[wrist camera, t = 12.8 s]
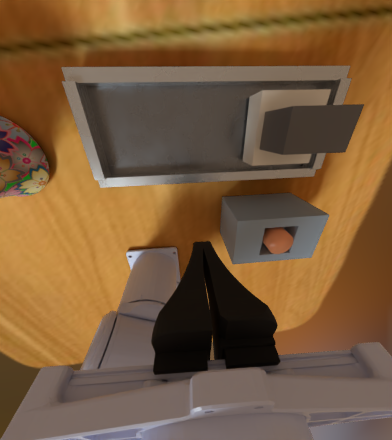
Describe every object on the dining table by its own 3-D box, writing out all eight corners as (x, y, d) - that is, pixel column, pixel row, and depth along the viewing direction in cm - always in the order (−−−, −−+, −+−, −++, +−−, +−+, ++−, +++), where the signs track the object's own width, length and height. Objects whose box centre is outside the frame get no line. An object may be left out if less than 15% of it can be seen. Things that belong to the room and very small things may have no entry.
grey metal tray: (299, 171, 22) (317, 177, 19) (109, 180, 20) (98, 189, 17) (326, 74, 17) (356, 63, 14) (79, 76, 15) (56, 64, 12)
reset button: (278, 240, 21) (289, 253, 19) (257, 242, 20) (266, 255, 18) (283, 221, 19) (296, 232, 17) (261, 223, 19) (271, 234, 17)
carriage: (292, 159, 19) (343, 171, 13) (242, 161, 19) (271, 175, 13) (308, 95, 16) (383, 75, 10) (249, 96, 16) (292, 75, 10)
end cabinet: (280, 227, 26) (311, 257, 20) (220, 232, 26) (232, 264, 19) (290, 192, 23) (329, 214, 17) (222, 196, 23) (237, 221, 17)
